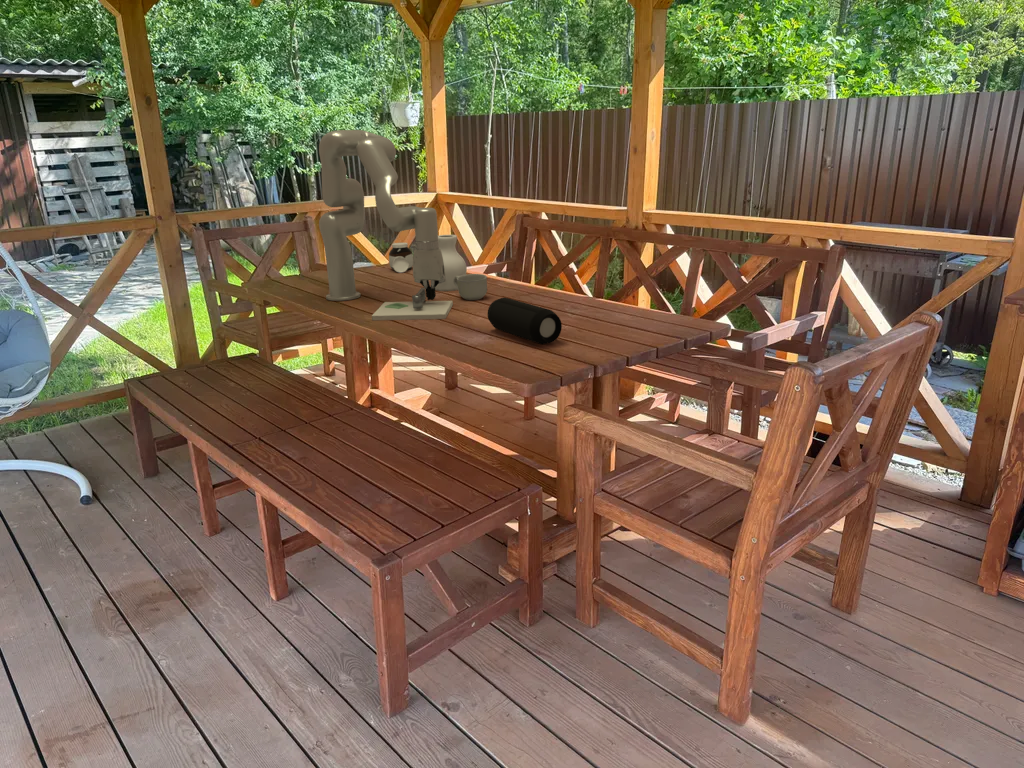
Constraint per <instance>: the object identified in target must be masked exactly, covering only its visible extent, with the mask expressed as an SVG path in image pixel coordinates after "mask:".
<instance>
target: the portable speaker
mask: <svg viewBox="0 0 1024 768" xmlns="http://www.w3.org/2000/svg"><path fill="white" fill-rule="evenodd" d="M487 319H488V321H489V322H490V324H491V326H492V327H493V328H494V329H496V330H498V331H501V332H503V333H507V334H510V335H513V336H516V337H518V338H521V339H525V340H528V341H530V342H533V343H536V344H540V345H545V344H551V343H554V341H556V340H557V339H558V338H559V337H560V335H561V332H562V329H563V327H562V326H563V325H562V320H561V318H560V316H558V315H557V313H556V312H554V311H553V310H552V309H549V308H545V307H542V306H537V305H534V304H530V303H527V302H524V301H519V300H516V299H514V298H513V299H512V298H510V297H500V298H497V299H496V300H494V301H492V302H491V303H490V305H489V307H488V310H487Z"/></svg>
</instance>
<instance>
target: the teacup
mask: <svg viewBox="0 0 1024 768" xmlns="http://www.w3.org/2000/svg"><path fill="white" fill-rule="evenodd" d="M487 279H488V275H486V274H482V273H470V274H469V273H468V274H467V273H466V275H462V276H455V277H454V284H455V286H456V287H457V288H458V290H457V291H458V294H459V296H460V297H461V298H463V299H464V300H465V301H477V300H481V299H482V298H484V296H486V294H487V292H488V280H487Z"/></svg>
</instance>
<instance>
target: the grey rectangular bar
mask: <svg viewBox="0 0 1024 768" xmlns="http://www.w3.org/2000/svg"><path fill="white" fill-rule="evenodd" d="M411 298H412V299H411V300H412V301H411V302H413V308H414V309H420V308H423V305H422V304H423V302H424V301H426V300H427V297H426V289H425V288H424V287H421V288H420V289H419V290H418V291H417V293H416V294H414V295H412V296H411Z"/></svg>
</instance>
